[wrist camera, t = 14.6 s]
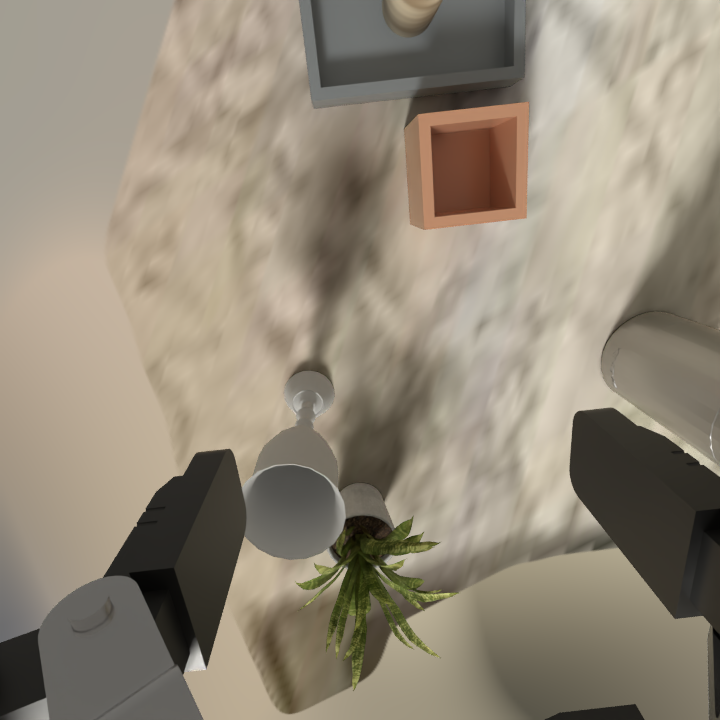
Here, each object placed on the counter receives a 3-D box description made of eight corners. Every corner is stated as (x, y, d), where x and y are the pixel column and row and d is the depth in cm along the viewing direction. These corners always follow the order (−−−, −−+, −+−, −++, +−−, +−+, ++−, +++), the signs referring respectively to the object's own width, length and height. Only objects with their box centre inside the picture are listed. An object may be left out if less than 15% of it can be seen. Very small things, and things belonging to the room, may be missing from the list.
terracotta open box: (495, 118, 37) (529, 101, 30) (495, 214, 40) (526, 218, 33) (404, 128, 37) (418, 114, 30) (410, 224, 40) (424, 229, 33)
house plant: (420, 561, 53) (453, 710, 37) (302, 562, 52) (287, 714, 37) (431, 456, 48) (474, 578, 33) (301, 456, 47) (282, 580, 32)
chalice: (265, 368, 44) (219, 477, 27) (333, 353, 43) (330, 452, 27) (286, 432, 46) (256, 569, 29) (350, 418, 46) (357, 547, 29)
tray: (511, -105, 32) (528, -134, 29) (510, 86, 36) (524, 77, 33) (290, -81, 32) (285, -108, 29) (313, 108, 36) (311, 101, 33)
